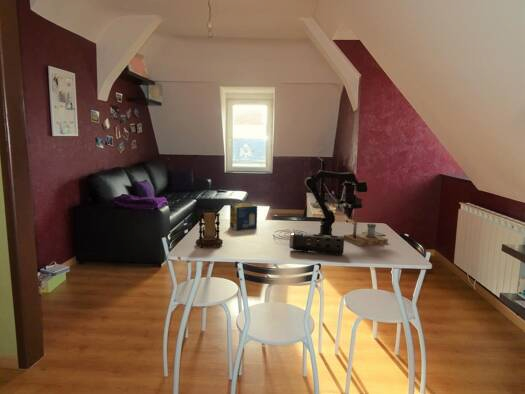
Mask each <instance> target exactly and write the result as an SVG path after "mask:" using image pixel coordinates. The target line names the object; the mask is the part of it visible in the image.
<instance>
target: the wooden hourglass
mask: <svg viewBox="0 0 525 394" xmlns="http://www.w3.org/2000/svg"><path fill="white" fill-rule="evenodd" d="M220 216H221V214H220V212H217V210H216V209H214V212H205V211H204V210H202V212H201V213H198V217H199V220H198V226H199V231H198V233H199V234H198V235H199V236H198V239H196V240H195V245H197V246H200V249H203V248H206V247H207V248H208V247H210V248H212V247H218V248H220V247H221V245H222V244H223V243H224V242H223V241H224V240H223V239H222V238H220V232H221V231H220V224H221V222H220Z"/></svg>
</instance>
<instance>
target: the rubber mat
mask: <svg viewBox="0 0 525 394" xmlns="http://www.w3.org/2000/svg"><path fill="white" fill-rule="evenodd" d="M367 232H368V231H362V232H361V233H367ZM375 235H378V236H381V237H384V236H386V234H384V233H382V232H379V231H377V230H375Z"/></svg>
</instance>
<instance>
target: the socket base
mask: <svg viewBox="0 0 525 394" xmlns="http://www.w3.org/2000/svg"><path fill="white" fill-rule="evenodd" d="M343 236H344V241H346V242H349V243H351V244H354V245H356V246H358V247H366V246H376V245H383V244H384V245H385V244H388V243H389V238H386V237H384V236H378V235H375V236H374V238H368V237H367V233H362V232H361V233H356V238H353V233H352V234H343Z"/></svg>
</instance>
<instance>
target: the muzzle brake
mask: <svg viewBox="0 0 525 394" xmlns="http://www.w3.org/2000/svg"><path fill="white" fill-rule="evenodd" d="M344 246H345V240H344V235H343V236H342V235H332V236H331V235H320V234H319V233H317V234H316V233H315V234H314V233H305V234H304V233H303V232H297V231H295V232H291V233H290V236H289V249H292V250H294V251H301V252H302V253H309V252H316V253H319V254H325V255H326V254H327V255H338V256H342V255H343V254H344V251H345V249H344V248H345V247H344Z"/></svg>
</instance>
